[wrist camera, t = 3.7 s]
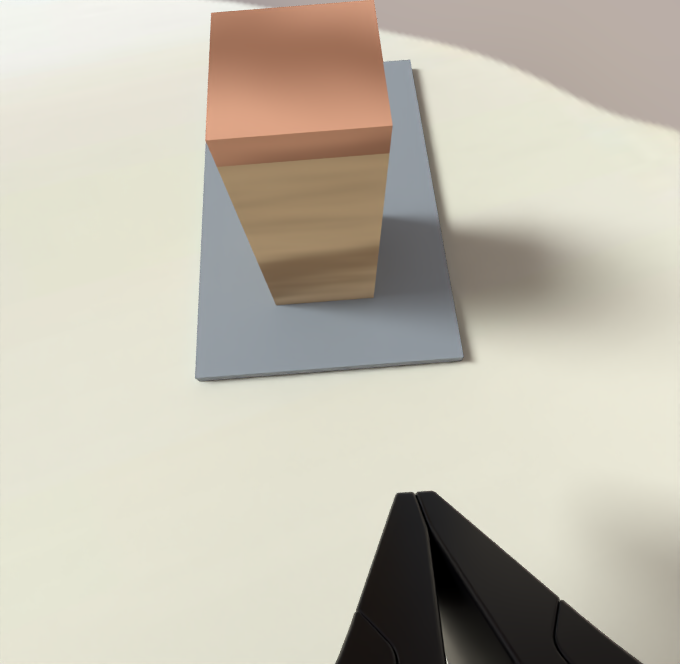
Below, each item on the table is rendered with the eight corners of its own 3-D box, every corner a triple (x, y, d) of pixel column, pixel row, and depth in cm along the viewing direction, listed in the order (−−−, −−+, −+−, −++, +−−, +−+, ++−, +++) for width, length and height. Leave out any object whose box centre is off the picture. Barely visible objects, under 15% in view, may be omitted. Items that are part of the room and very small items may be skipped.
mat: (460, 360, 21) (463, 357, 20) (199, 381, 21) (195, 378, 20) (408, 68, 28) (410, 59, 27) (211, 84, 28) (208, 75, 27)
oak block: (373, 297, 22) (392, 125, 11) (275, 305, 22) (205, 140, 11) (364, 215, 23) (373, 0, 13) (274, 222, 23) (211, 12, 13)
